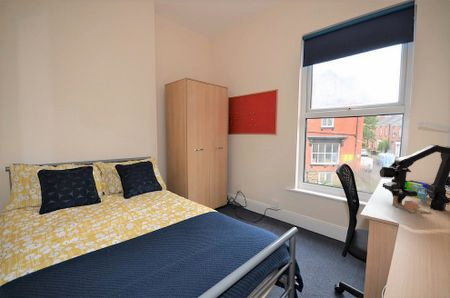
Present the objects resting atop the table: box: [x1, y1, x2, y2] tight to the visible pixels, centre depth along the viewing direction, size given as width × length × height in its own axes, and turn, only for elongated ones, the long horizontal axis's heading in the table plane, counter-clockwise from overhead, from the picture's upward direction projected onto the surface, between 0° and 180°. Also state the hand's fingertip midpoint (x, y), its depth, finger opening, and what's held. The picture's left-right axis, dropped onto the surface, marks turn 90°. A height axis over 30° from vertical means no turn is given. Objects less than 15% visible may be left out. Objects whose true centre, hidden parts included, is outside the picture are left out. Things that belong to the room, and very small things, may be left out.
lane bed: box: [391, 203, 432, 214], centre depth 128 cm, size 13×20×2 cm, turn 4°
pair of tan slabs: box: [418, 207, 431, 214], centre depth 124 cm, size 5×11×1 cm, turn 4°
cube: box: [403, 200, 420, 211], centre depth 121 cm, size 4×4×4 cm
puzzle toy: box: [405, 179, 429, 200], centre depth 151 cm, size 10×10×10 cm
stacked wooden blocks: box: [392, 195, 421, 214], centre depth 124 cm, size 5×13×6 cm, turn 4°
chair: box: [412, 185, 429, 203], centre depth 137 cm, size 8×8×12 cm
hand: (397, 202), depth 130 cm, fingers closed on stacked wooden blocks, 2 cm apart
